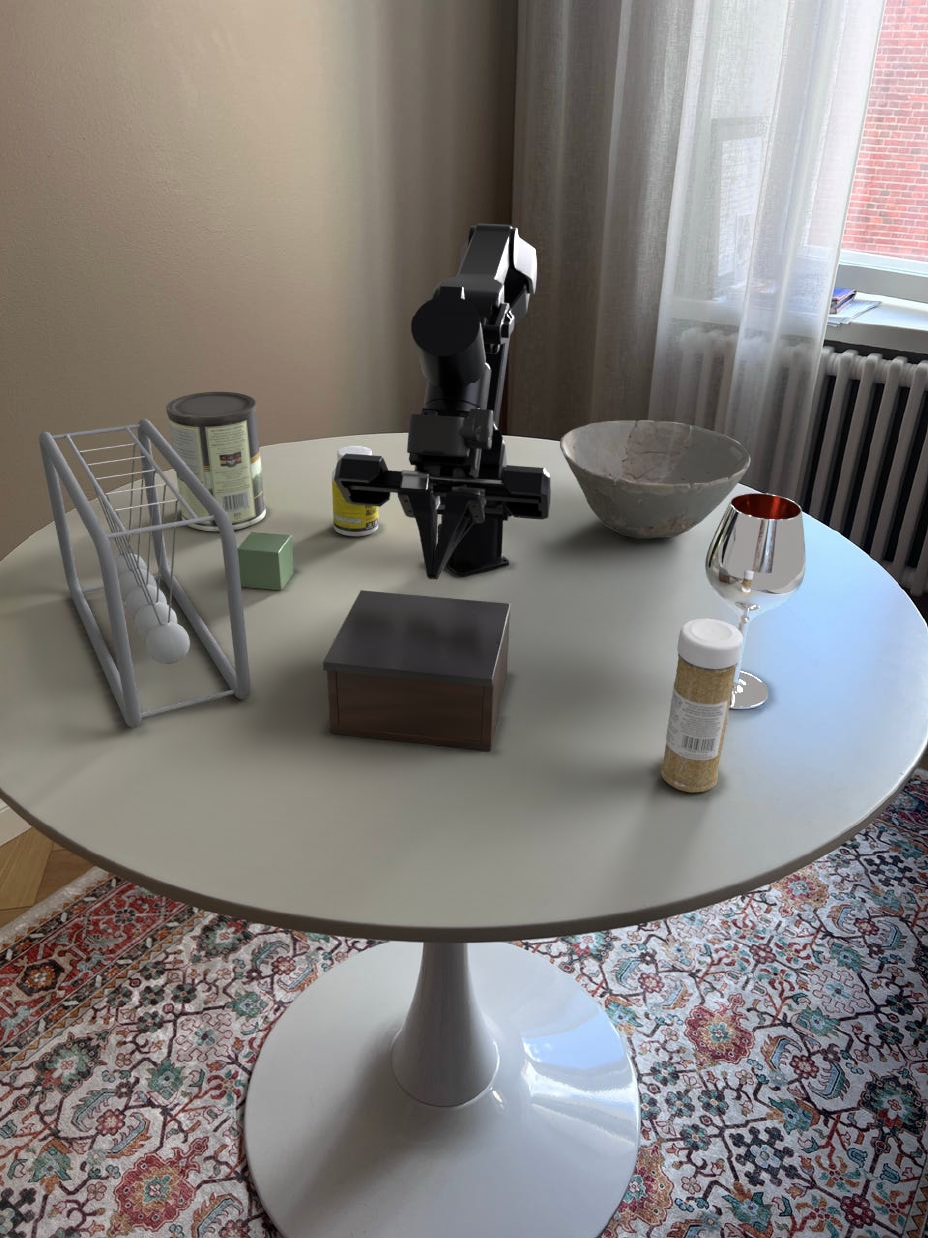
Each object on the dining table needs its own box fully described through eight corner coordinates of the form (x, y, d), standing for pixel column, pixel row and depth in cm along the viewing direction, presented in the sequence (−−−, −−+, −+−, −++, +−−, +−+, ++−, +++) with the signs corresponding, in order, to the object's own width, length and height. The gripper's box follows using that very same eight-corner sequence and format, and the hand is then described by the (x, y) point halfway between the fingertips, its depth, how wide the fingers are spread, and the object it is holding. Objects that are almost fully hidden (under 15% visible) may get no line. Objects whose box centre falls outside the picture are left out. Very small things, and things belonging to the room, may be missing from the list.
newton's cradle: (254, 707, 86) (235, 519, 77) (131, 740, 81) (97, 544, 73) (167, 569, 109) (145, 412, 100) (67, 589, 104) (35, 426, 96)
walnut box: (490, 751, 81) (493, 681, 78) (330, 733, 83) (326, 665, 79) (506, 676, 91) (510, 611, 88) (363, 661, 93) (360, 598, 89)
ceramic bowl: (673, 482, 135) (682, 410, 130) (775, 551, 116) (791, 471, 111) (524, 501, 128) (528, 427, 123) (608, 578, 109) (616, 494, 104)
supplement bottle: (371, 540, 116) (369, 461, 112) (327, 535, 117) (323, 456, 113) (384, 522, 121) (382, 445, 116) (341, 517, 122) (338, 441, 117)
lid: (492, 687, 77) (492, 679, 77) (323, 670, 79) (322, 662, 78) (510, 611, 88) (510, 603, 87) (360, 597, 89) (360, 589, 89)
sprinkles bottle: (722, 769, 80) (749, 624, 73) (709, 802, 76) (737, 652, 69) (667, 753, 81) (689, 610, 75) (652, 785, 78) (673, 637, 71)
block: (254, 568, 109) (251, 531, 107) (294, 572, 109) (291, 534, 107) (240, 587, 105) (236, 548, 103) (281, 590, 105) (278, 552, 103)
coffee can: (223, 493, 128) (211, 385, 121) (283, 511, 123) (275, 400, 116) (162, 519, 120) (146, 406, 114) (224, 539, 116) (211, 423, 109)
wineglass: (675, 666, 93) (702, 488, 84) (759, 664, 94) (795, 487, 85) (701, 716, 86) (733, 527, 77) (791, 713, 87) (833, 525, 78)
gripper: (334, 362, 83) (304, 537, 79) (556, 376, 81) (537, 556, 77) (360, 423, 94) (335, 579, 90) (557, 436, 91) (540, 597, 87)
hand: (432, 577), depth 86 cm, fingers closed
